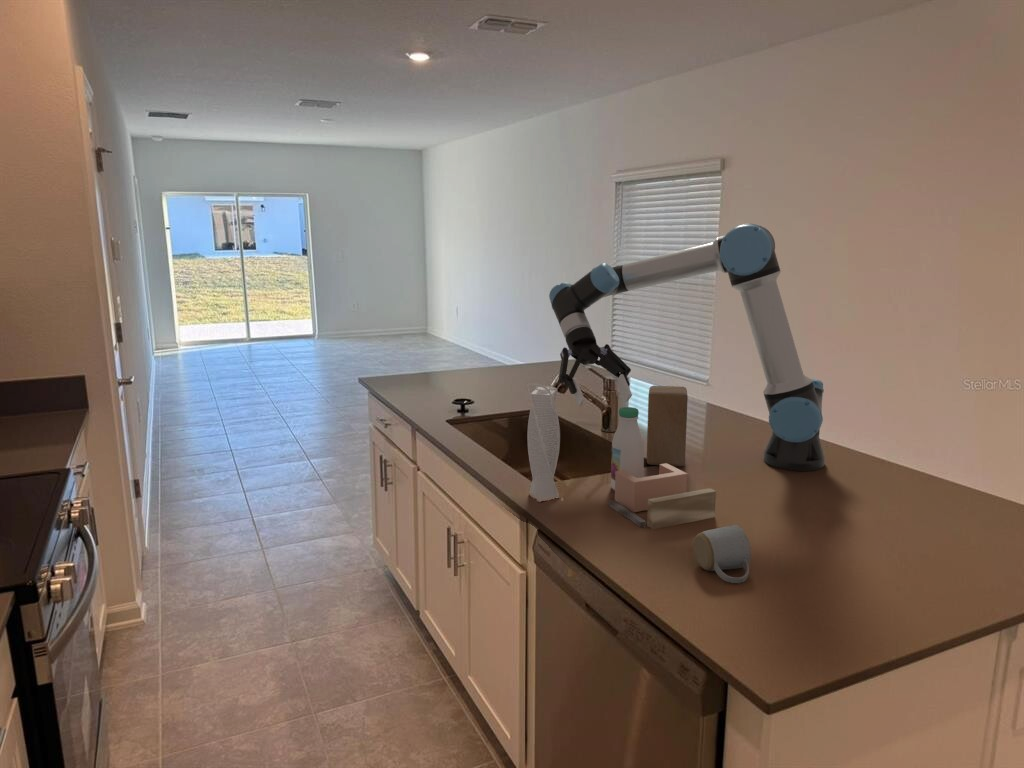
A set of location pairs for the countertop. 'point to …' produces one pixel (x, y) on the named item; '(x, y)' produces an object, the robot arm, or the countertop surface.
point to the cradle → (648, 487)
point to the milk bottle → (627, 445)
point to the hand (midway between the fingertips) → (605, 400)
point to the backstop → (674, 509)
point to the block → (667, 425)
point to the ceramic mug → (723, 551)
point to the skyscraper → (543, 441)
